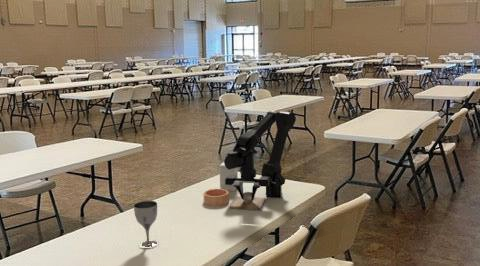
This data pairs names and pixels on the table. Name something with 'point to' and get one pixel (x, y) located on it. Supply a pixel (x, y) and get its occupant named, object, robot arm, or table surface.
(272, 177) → the robot arm
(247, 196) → the lid
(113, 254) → the table surface
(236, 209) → the mat
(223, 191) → the bowl
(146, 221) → the wine glass
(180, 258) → the table surface
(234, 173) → the supplement box
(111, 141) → the table surface
